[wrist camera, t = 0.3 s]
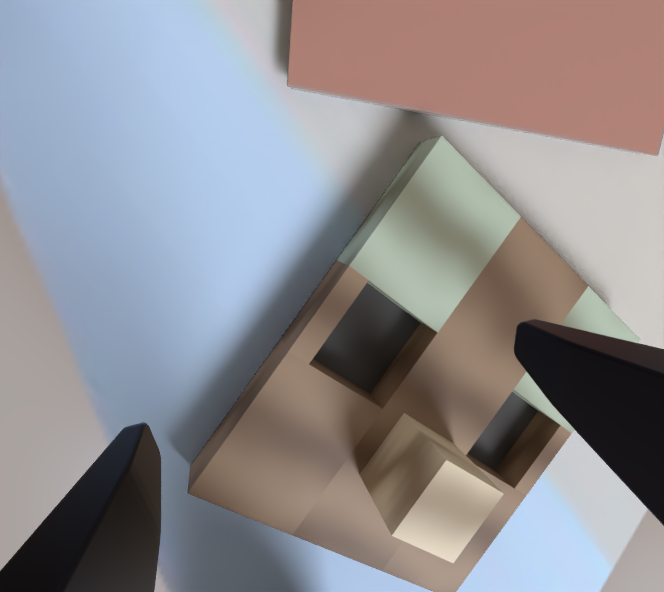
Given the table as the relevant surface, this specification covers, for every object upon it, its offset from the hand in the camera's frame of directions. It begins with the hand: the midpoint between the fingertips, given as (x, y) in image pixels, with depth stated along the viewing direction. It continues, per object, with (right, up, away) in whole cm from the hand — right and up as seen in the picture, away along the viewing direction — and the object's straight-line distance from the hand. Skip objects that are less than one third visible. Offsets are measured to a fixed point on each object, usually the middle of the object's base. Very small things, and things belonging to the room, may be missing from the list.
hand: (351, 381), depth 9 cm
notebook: (+10, +21, +15) cm, 28 cm away
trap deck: (+6, -5, +19) cm, 21 cm away
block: (+5, -9, +17) cm, 20 cm away
